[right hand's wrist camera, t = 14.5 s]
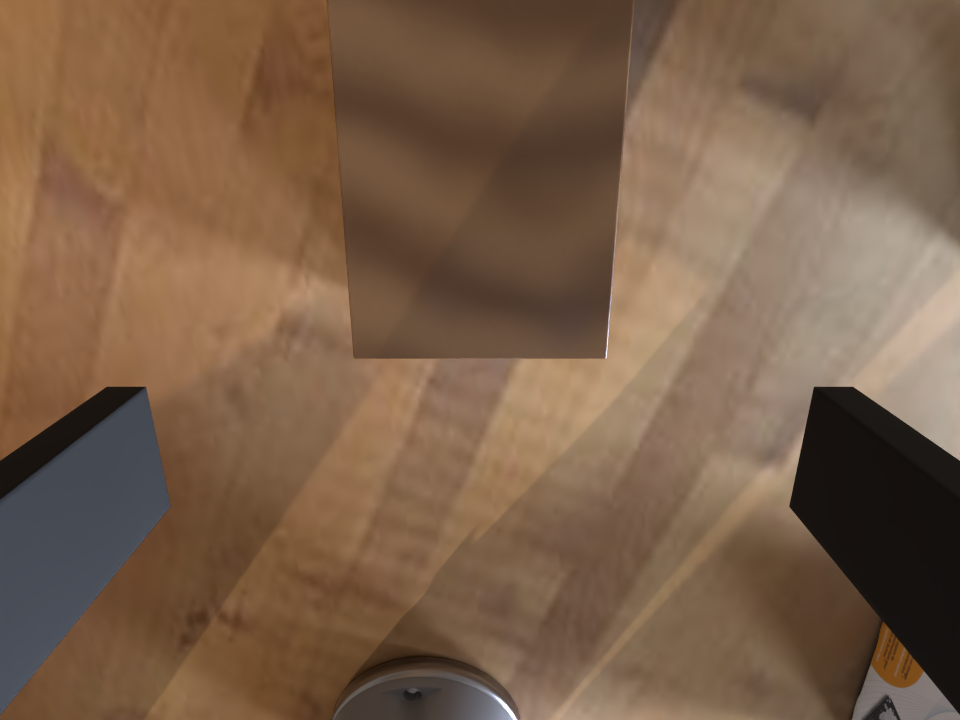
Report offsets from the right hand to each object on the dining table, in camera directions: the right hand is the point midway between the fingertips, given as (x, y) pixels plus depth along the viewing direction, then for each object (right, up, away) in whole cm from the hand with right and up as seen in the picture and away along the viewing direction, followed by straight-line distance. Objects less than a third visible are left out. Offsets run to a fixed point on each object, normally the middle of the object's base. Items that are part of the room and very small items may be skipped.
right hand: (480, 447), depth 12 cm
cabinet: (0, +15, +22) cm, 26 cm away
